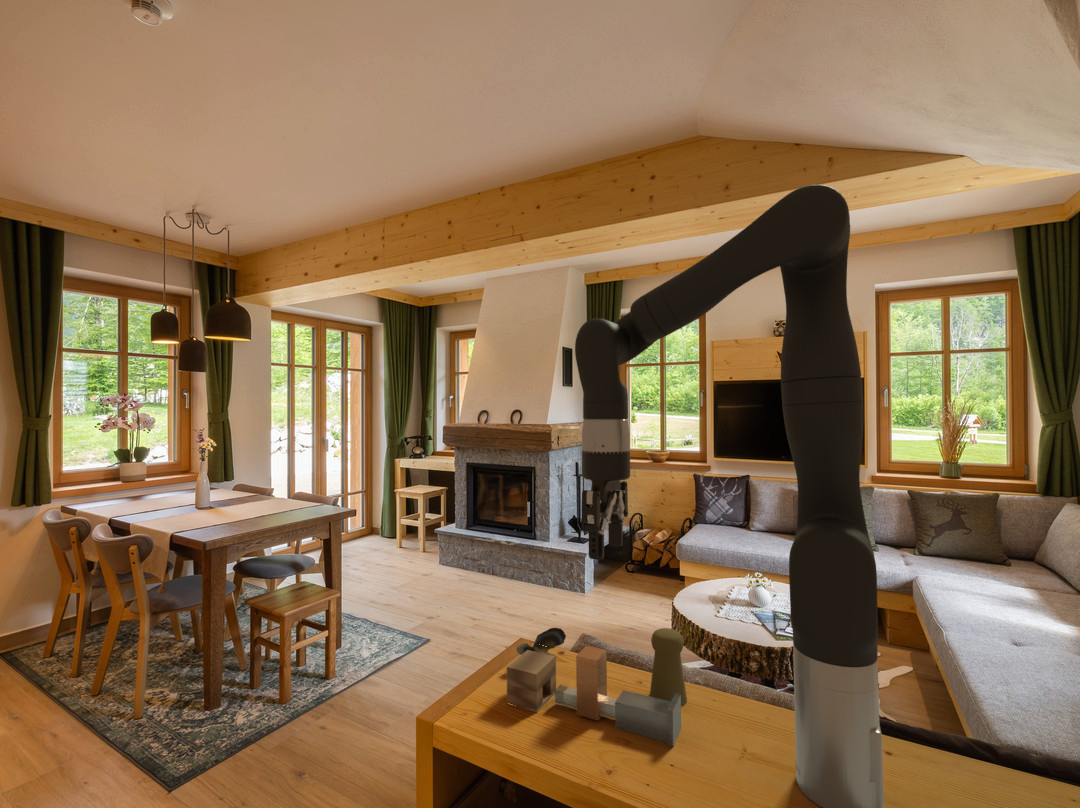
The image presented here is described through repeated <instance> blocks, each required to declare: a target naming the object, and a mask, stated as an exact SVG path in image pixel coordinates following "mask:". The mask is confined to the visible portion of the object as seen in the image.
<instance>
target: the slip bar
mask: <svg viewBox="0 0 1080 808" xmlns="http://www.w3.org/2000/svg"><path fill="white" fill-rule="evenodd" d="M575 658H576V659H575V660H576V661H575V663H576V664H575V665H576V667H575V668H576V670H575V672H576V673H575V674H576V677H575V678H576V681H575V682H576V688H575V687H571V686H567V685H563V684H559V685H558V687H556V690H555V694H554V703H555V704H558V705H562V706H564V707H569V708H573V709H576V715H577V716H581V717H583V718H588V719H591V720H595V721H599V720H600V719H601V717H606V718H610V719H614V720H615V701H616V700H617V698H616V697H611V696H608V683H607V682H608V676H607V675H608V673H607V672H608V671H607V670H608V668H607V667H608V666H607V665H608V663H607V650H606V649H602V648H597V647H594V646H587V645H585V647H584V648H582V650H580V652H578V654H577V655H576V656H575Z"/></svg>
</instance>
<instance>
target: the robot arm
mask: <svg viewBox="0 0 1080 808" xmlns="http://www.w3.org/2000/svg"><path fill="white" fill-rule="evenodd" d="M850 237H851V218H850V209H849V205H848V202H847V200H846V198H845V197H844V196H843V195H842V193H841V192H840V191H838V190H837V189H836V188H833V187H831V186H830V185H825V184H809V185H804V186H801V187H800V188H797V189H795V190H792V191H791V192H789V193H788V194H786V195H785V196H783V197H782V198H781V199H780V200H778V201H777V202H776V203H774V204H773V205H772V206H770V207H769V208H768V209H767V210H766V211H764V212H763V213H762V214H761V215H760V216H758V217H757V218H756V219H755V220H754V221H752V222H751V223H750V224H749V225H747V226H746V227H745V228H744V229H742V230H741V231H740V232H738V233H737V234H735V235H734V236H733V237H732V238H730V239H729V240H727V241H726V242H724V243H723V244H722V245H721V246H719V247H718V248H717V249H715V250H714V251H713V252H711V253H710V254H708V255H707V256H705V257H704V258H702V259H701V260H699V261H697V262H696V263H695V264H693V265H692V266H690V267H688V268H687V269H685V270H683V271H681V272H680V273H678V274H677V275H675V276H673V277H672V278H670V279H668V280H666V281H665V282H663V283H661V284H660V285H657V286H656V287H654V288H653V289H650V291H648V292H646V293H645V294H643V295H641V296H640V297H639V298H637V299H635V301H633V303H631V305H630V310H629V312H628V313H626V314H625V315H624V316H622V317H621V318H620V319H618V320H615V321H614V322H613V321H610V320H608V319H605V318H597V317H596V318H590V319H589V320H587V321H586V322H584V323H583V324H582V325H581V326H580V328H579V330H578V331H577V334H576V338H575V342H574V343H575V344H574V353H575V362H576V365H577V371H578V376H579V381H580V384H581V388H582V393H583V396H582V402H583V403H582V418H583V420H582V428H581V429H582V430H581V476H582V478H583V479H584V480H590V482H591V488H590V490H589V489H583V490H582V492H581V526H580V527H581V531H582V532H586V534H588V558H589V559H590V560H596V561H601V560H603V559H604V558H605V529H606V526H607V525H608V527H607V528H608V532H607V533H608V534H607V535H608V536H607V537H608V545H609V547H614V548H620V547H622V546H623V544H624V542H623V541H624V540H623V539H624V538H623V537H624V535H623V531H624V528H623V526H624V525H623V524H624V523H625V521H626V518H627V517H628V516H629V502H628V501H629V499H628V482H627V481H626V480H628V479H630V478H631V437H630V436H631V434H630V433H631V432H630V426H629V425H630V424H629V395H628V393H629V392H628V388H627V386H626V385H625V384H624V383H623V382H622V380H621V378H620V371H619V367H620V366H621V365H624V364H627V363H628V362H630V361H632V360H633V359H635V358H636V357H638V356H639V355H640V354H642V353H643V352H644V351H646V350H647V349H648V348H650V347H651V346H652V345H654V343H656V342H657V341H658V340H661V339H663V338H665V337H668V336H669V335H670V334H673V333H674V332H677V331H678V330H680V329H681V328H684V327H685V326H687V325H689V324H691V323H693V322H694V321H695V322H696V321H697V320H698V319H700V318H701V317H703V316H704V315H705V314H706V313H708V312H709V311H711V310H713V309H714V308H715V307H716V306H717V305H719V303H721V302H722V301H723V300H725V299H726V298H727V297H728V296H729V295H731V294H732V293H733V292H734V291H736V290H737V289H739V288H740V287H741V286H743V285H745V284H747V283H749V282H750V281H752V280H753V279H755V278H757V277H759V276H761V275H763V274H765V273H768V272H770V271H771V270H774V269H776V268H780V272H781V273H780V274H781V279H782V285H783V290H784V292H783V293H784V298H785V300H784V301H785V311H786V312H785V325H784V331H783V339H782V344H781V345H782V346H781V355H780V357H781V358H780V389H781V402H782V403H781V405H782V414H783V420H784V421H783V422H784V428H785V432H786V437H787V442H788V446H789V449H790V454H791V458H792V461H793V465H794V469H795V476H796V483H797V515H796V516H797V519H796V521H797V522H796V528H795V529H796V530H795V531H796V532H795V537H794V540H793V542H792V544H791V547H790V551H789V555H788V556H789V558H788V559H789V561H788V573H789V574H788V578H789V580H788V581H789V582H788V583H789V584H788V585H789V604H790V605H789V606H790V608H789V609H790V624H791V628H792V643H793V645H792V647H793V648H792V650H793V687H794V688H793V690H794V691H793V695H794V696H793V697H794V700H793V701H794V728H795V729H794V733H795V734H794V738H795V739H794V740H795V742H794V743H795V761H794V762H795V776H796V777H795V778H796V783H797V786H798V788H799V790H801V792H802V793H803V794H804V795H805V796H806V797H807V798H808V799H809V800H811V801H812V802H813V803H815V804H816V805H818V806H820V807H821V808H885V802H884V801H885V799H884V798H885V797H884V795H885V794H884V764H883V759H884V758H883V735H882V730H881V725H880V698H879V697H880V696H879V695H880V694H879V663H878V662H879V659H878V658H879V657H878V652H879V651H878V645H879V644H878V642H879V625H878V624H879V622H878V621H879V619H878V618H879V617H878V611H879V610H878V573H877V563H876V560H875V553H874V549H873V545H872V543H871V538H870V536H869V530H868V527H867V522H866V517H865V511H864V504H863V500H862V499H863V498H862V493H861V492H862V491H861V480H860V479H861V478H860V473H861V472H860V471H861V470H860V468H861V461H862V450H863V442H864V441H863V440H864V395H863V393H864V392H863V381H862V369H861V364H860V356H859V350H858V346H857V345H858V344H857V341H856V335H855V332H854V327H853V324H852V319H851V316H850V311H849V305H848V297H847V296H848V295H847V294H848V293H847V290H848V289H847V286H848V285H847V282H848V281H847V279H848V272H847V270H848V257H849V245H850V239H851V238H850ZM607 523H608V524H607Z"/></svg>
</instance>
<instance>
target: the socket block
mask: <svg viewBox="0 0 1080 808" xmlns="http://www.w3.org/2000/svg"><path fill="white" fill-rule="evenodd" d="M556 662H557V655H556V656H553V655H548V654H544V653H539V652H535V651H530V650H527V651H526V652H524V653H523V654H522V655H519V656H518V657H517V658H516V659H515V660H513V661H512V662H511V663H510V664H509V665H508V666H507V667H506V703H507V702H508V703H510V704H513V705H516V706H518V707H517V708H519V707H521V708H520V709H522V708H523V709H522V710H527V711H530V712H533V713H539V711H540V710H541V709H542V708H543V707H544V706H545V705H546V704H547V702H548V701H549V700H550V699H551V698H552V697H553V696H555V690H556V689H557V663H556Z"/></svg>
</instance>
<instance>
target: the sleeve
mask: <svg viewBox="0 0 1080 808" xmlns="http://www.w3.org/2000/svg"><path fill="white" fill-rule="evenodd" d="M618 695H619V696H618V697H617V698H616V699H617V700H616V701H615V719H614V721H615V723H614V724H615V727H614V728H615V729H617V730H621V731H624V732H627V733H632V734H635V735H638V736H639V735H640V736H642V737H645V738H649V739H654V740H656V741H659V742H664V743H667V746H669V747H673V748H674V747H675V744H676V741H677V739H678V737H679V734H680V732H681V730H682V707H681V694H677V693H675V695H674V697H673V699H672V701H667V700H662V699H658V698H654V697H650V695H646V694H642V693H637V692H632V691H629V690H624V689H623V690H622V691H621V693H620V694H618Z"/></svg>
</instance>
